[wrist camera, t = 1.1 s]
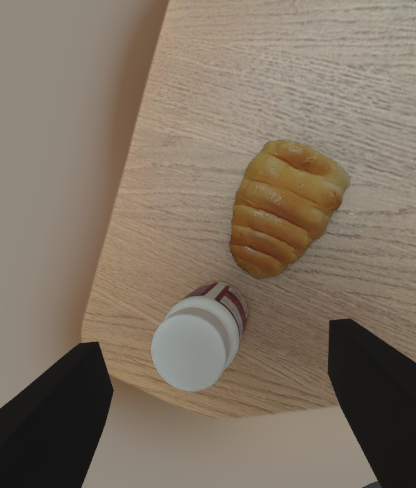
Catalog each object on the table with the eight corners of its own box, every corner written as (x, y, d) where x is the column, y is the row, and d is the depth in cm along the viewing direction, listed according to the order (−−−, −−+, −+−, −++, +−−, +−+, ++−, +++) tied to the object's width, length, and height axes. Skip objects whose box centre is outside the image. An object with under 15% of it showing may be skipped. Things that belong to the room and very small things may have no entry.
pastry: (290, 291, 21) (292, 303, 18) (211, 251, 23) (197, 253, 19) (352, 175, 20) (368, 161, 16) (264, 139, 21) (261, 119, 18)
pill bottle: (185, 331, 23) (136, 384, 15) (195, 275, 23) (150, 297, 15) (242, 347, 22) (223, 412, 14) (254, 287, 22) (241, 319, 14)
